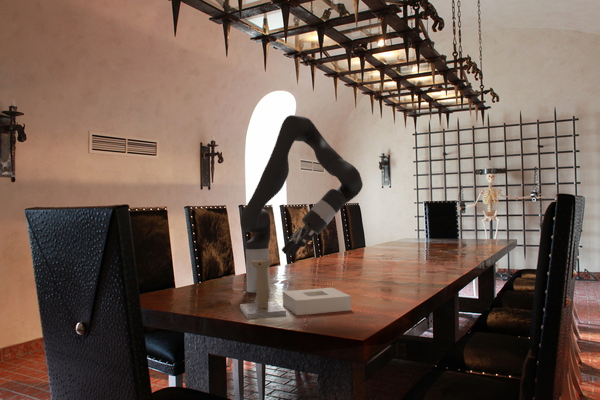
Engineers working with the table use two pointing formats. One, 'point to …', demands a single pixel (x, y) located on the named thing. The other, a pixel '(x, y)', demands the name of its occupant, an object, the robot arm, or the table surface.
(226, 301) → the table surface
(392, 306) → the table surface
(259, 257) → the chalice
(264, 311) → the white flat slab
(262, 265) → the handle
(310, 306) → the socket block
